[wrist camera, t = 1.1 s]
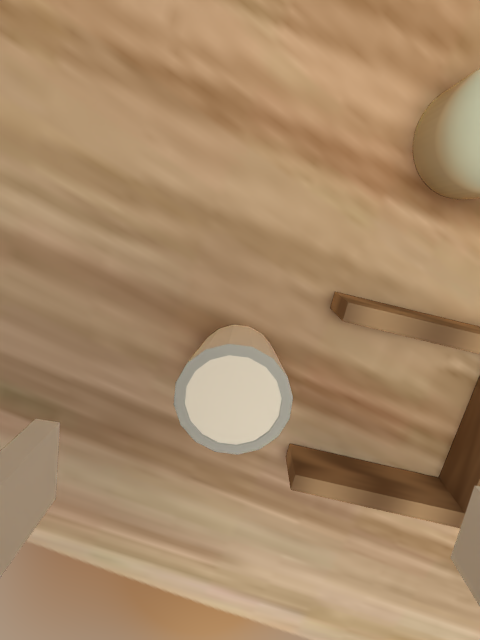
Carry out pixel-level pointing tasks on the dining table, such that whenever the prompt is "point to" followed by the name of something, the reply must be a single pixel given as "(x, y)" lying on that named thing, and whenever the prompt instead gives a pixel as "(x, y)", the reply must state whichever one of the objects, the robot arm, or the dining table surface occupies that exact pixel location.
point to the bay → (388, 482)
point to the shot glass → (233, 392)
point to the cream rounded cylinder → (451, 141)
